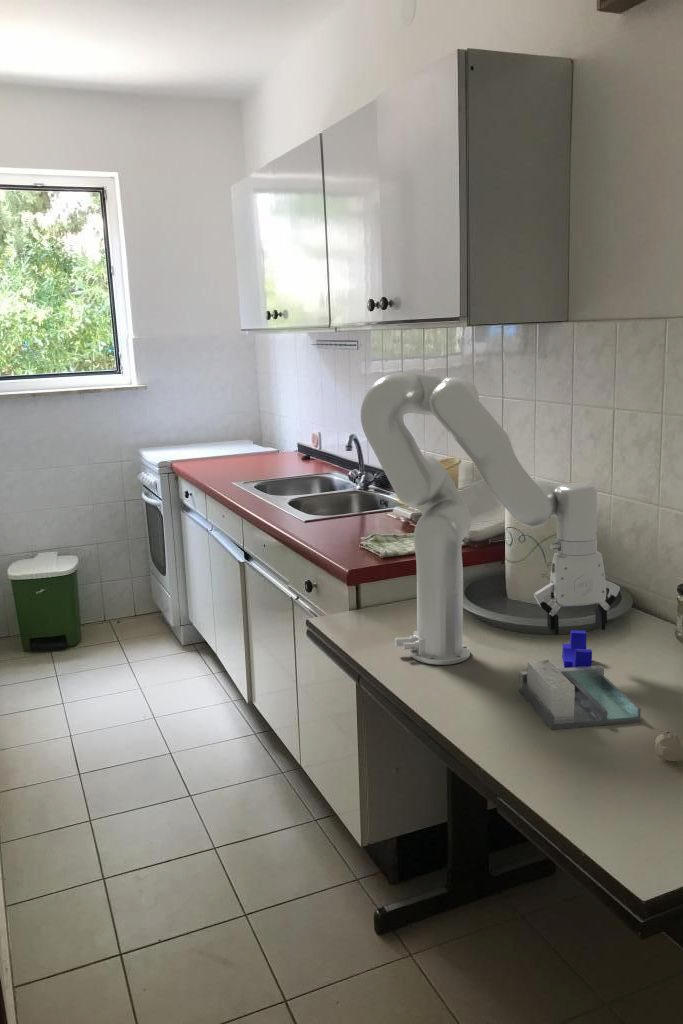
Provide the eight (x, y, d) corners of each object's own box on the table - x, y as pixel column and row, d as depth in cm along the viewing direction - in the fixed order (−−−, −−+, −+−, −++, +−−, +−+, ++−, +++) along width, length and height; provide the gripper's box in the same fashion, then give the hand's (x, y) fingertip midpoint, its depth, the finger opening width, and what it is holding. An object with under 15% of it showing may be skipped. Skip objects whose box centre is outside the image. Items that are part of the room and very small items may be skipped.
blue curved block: (562, 657, 174) (563, 630, 173) (584, 658, 174) (585, 630, 172) (566, 680, 163) (567, 651, 162) (590, 681, 162) (592, 652, 161)
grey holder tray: (551, 729, 142) (552, 691, 141) (519, 691, 158) (519, 656, 156) (640, 722, 144) (642, 684, 143) (599, 684, 160) (601, 650, 158)
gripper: (541, 555, 158) (542, 641, 162) (627, 547, 161) (627, 632, 164) (527, 546, 166) (528, 628, 169) (610, 538, 168) (610, 620, 171)
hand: (577, 630), depth 166 cm, fingers open, 9 cm apart
